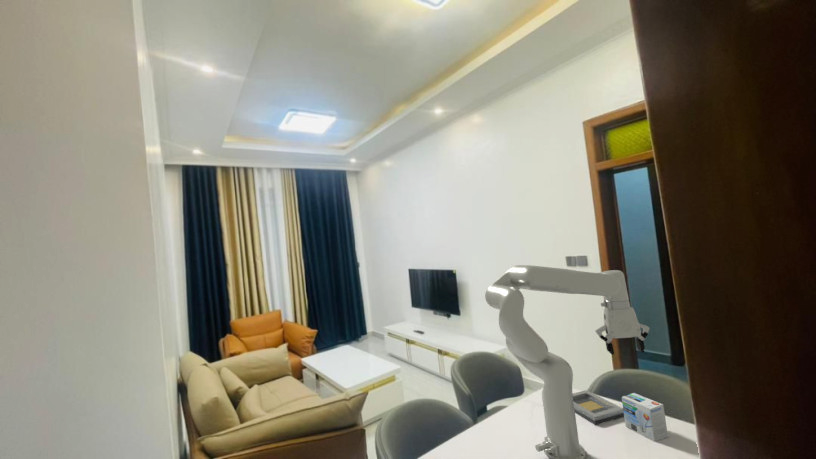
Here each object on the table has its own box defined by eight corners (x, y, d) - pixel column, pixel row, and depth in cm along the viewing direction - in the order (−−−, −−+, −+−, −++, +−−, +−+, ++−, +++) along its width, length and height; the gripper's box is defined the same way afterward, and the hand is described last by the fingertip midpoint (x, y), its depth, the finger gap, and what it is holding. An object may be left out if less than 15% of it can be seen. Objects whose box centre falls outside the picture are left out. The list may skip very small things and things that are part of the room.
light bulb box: (624, 426, 115) (620, 396, 115) (638, 421, 117) (633, 392, 117) (655, 442, 104) (650, 409, 105) (669, 436, 106) (664, 404, 107)
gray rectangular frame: (595, 425, 117) (594, 417, 117) (560, 403, 134) (559, 396, 135) (624, 416, 121) (623, 408, 121) (587, 396, 138) (586, 390, 138)
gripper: (595, 309, 112) (604, 357, 111) (649, 304, 108) (659, 354, 107) (587, 305, 119) (596, 350, 118) (638, 300, 116) (647, 346, 114)
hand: (626, 352), depth 113 cm, fingers open, 9 cm apart
